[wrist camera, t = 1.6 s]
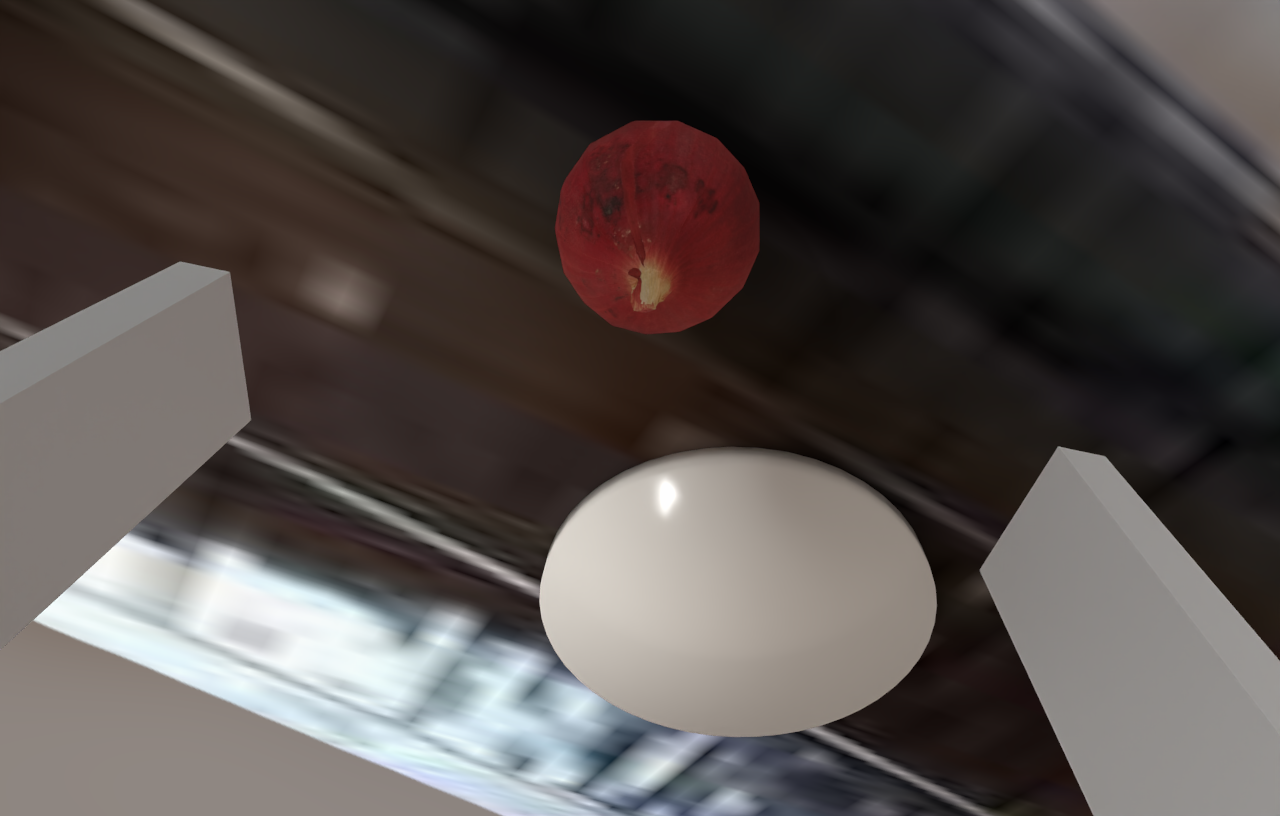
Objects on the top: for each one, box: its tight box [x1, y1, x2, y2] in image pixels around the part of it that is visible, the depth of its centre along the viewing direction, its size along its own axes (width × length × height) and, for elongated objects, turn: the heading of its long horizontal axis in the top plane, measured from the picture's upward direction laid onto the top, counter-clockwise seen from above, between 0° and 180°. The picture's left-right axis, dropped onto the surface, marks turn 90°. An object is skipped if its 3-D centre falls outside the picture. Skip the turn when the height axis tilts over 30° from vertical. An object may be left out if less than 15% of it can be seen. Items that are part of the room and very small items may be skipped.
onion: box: [555, 121, 760, 334], centre depth 19 cm, size 6×6×8 cm
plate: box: [540, 447, 937, 737], centre depth 32 cm, size 18×18×1 cm
